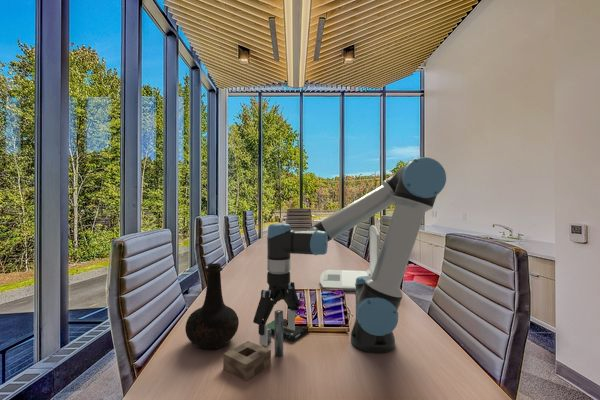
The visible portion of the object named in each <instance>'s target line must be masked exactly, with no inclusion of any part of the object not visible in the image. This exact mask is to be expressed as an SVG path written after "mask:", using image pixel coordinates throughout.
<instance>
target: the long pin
mask: <svg viewBox="0 0 600 400" xmlns="http://www.w3.org/2000/svg"><path fill="white" fill-rule="evenodd" d="M283 319H284V311H283V310H282V309H277V310H274V320H275V336H274V356H275V357H276V358H280V357H281V358H282V357H283V356H284V339H283Z"/></svg>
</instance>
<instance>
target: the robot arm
mask: <svg viewBox="0 0 600 400" xmlns="http://www.w3.org/2000/svg"><path fill="white" fill-rule="evenodd" d="M446 183H447V172H446V170H445V168H444V166H443V165H442V164H441V163H440V162H439V161H437V160H436V159H435V158H432V157H425V156H422V157H415V158H413V159H411V160H409V161H408V162H407V163H406V164H404V165H403V166H401V167H400V168H399V169H398V170H397V171H396V172H395V173H393V174H392V175H391V176H389V177H388V178H386V179H384V180H383V182H382V185H380V186H378V187H377V188H375V189H373V190H371V191H370V192H368V193H366V194H365V195H363V196H361V197H360V198H358V199H356V200H355V201H353V202H352V203H349V204H348V205H346V206H344V207H343V208H341V209H340V210H338V211H336V212H335V213H332V214H331V215H329V216H328V217H326V218H324V219H323V220H320V222H318V223H316V224H314V225H312V226H310V227H308V228H307V229H306V230H294V229H292V228H291V225H290V224H289V223H280V222H279V223H271V224H269V225H268V226H267V237H266V239H267V240H266V241H267V244H266V245H267V247H266V248H267V257H266V258H267V260H266V262H267V264H266V265H267V267H266V270H267V272H266V283H267V284H268V289H267V290H265V289H261V291H260V298H259V301H258V305H257V308H256V311H255V315H254V317H253V321H252V322H253V323H254V324H256V325H258V335H259V345H261V346H263V347H264V346H265V347H267V346H268V324H269V323H267V322H268V319H269V317H270V315H271V313H272V311H273V309H274V306H275V305H277V304H278V302H280V301H284V302H285V304H286V305H287V307H288V308H289V309H287V320H288V329H291V330H295V322H296V317H297V316H296V315H297V311H299V307H300V306H301V303H300V300H299V297H298V294H297V291H296V288H295V282H293V281H291V254H293V255H297V254H298V255H313V256H318V255H319V256H320V255H324V256H325V255H326V254H327V252H328V245H329V243H328V242H331V240H333V239H335V238H337V237H338V236H341V235H342V234H344V233H345V232H347V231H349V230H351V229H352V228H354V227H356V226H357V225H359V224H361V223H363V222H364V221H366V220H369V219H370V218H371V217H373V216H375V215H377V214H379V213H380V212H383V210H386V209H387V208H389V207H391V206H393V205H395V206H394V210H393V212H392V214H391V218H390V221H389V224H388V227H387V230H386V233H385V235H384V239H383V242H382V244H381V248H380V249H379V256H378V259H377V262H376V265H375V268H374V271H373V274H372V276H361V277H358V278H357V279H356V284H355V286H356V291H355V319H354V320H355V321H354V323H353V326H352V329H351V332H350V342H351V343H350V344H352V346H353V347H355V348H356V349H358V350H361V351H363V352H365V353H371V354H384V353H388V352H392V351H393V350H394V349H395V347H396V340H395V339H396V338H395V334H394V330H395V329H396V328H397V326H398V322H399V312H398V310H399V307H400V304H401V302H402V298H403V292H402V291H401V284H402V281H403V278H404V275H405V272H406V270H407V266H408V264H409V261H410V257H411V255H412V252H413V248H414V245H415V243H416V240H417V237H418V234H419V231H420V229H421V225H422V223H423V220H424V216H425V213H427V212H428V211H430V210H432V209H433V207H434V205H435V202H436V199H437V197H438V195H439V194H440V193H441V192H442V191H443V189H444V188H445V186H446Z"/></svg>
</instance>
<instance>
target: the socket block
mask: <svg viewBox="0 0 600 400" xmlns="http://www.w3.org/2000/svg"><path fill="white" fill-rule="evenodd" d="M222 355H223V357H222V359H223V361H222V363H223V367H222V368H223V370H225V371H226V372H229V373H231V374H233V375H235V376H237V377H238V378H240V379H242V380H244V381H245V382H247V381H248V380H250V379H252V378H253V377H254V376H257V375H258V374H259V373H261V372H263V371H264V370H265V369H267V368H269V367H270V366H271V365H272V356H271V355H272V350H271V349H269V348H266V347H264V346H263V345H261V344H257V343H254V342H252V341H249V340H247V341H245V342H243V343H241V344H238V345H237V346H235V347H233V348H232V349H230V350H228V351H226V352H223V353H222Z"/></svg>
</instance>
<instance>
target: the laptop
mask: <svg viewBox="0 0 600 400" xmlns="http://www.w3.org/2000/svg"><path fill="white" fill-rule="evenodd" d="M379 253H380V232H379V229H378V228H377V227H376V226H375V225H374V224H373V225H372V224H371V225H370V227H369V268H367V269H366V270H359V269H358V270H356V269H327V268H326V269H325V270H324V271H323V272H321V274H320V277H319V283H320V284H321V287H322V288H324V289H325V290H327V289H344V290H345V291H344V292H356V286H355V284H356V279H357V278H358V277H361V276H372V274H373V271H374V268H375V265H376V262H377V259H378V256H379Z"/></svg>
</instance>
